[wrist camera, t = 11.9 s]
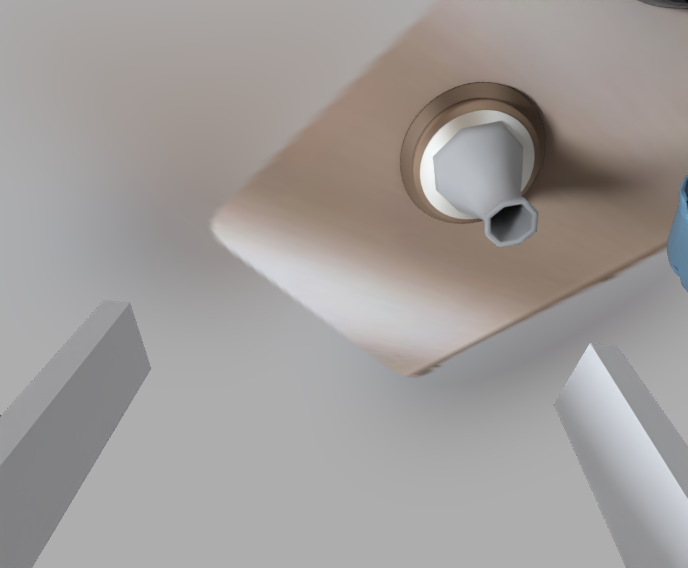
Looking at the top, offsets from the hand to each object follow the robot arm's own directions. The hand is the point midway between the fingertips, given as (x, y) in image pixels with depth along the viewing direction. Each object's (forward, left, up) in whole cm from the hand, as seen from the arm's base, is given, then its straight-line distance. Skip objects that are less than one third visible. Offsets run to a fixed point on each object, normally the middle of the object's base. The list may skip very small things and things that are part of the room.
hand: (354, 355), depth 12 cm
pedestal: (-5, +8, -27) cm, 28 cm away
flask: (-5, +8, -24) cm, 26 cm away
